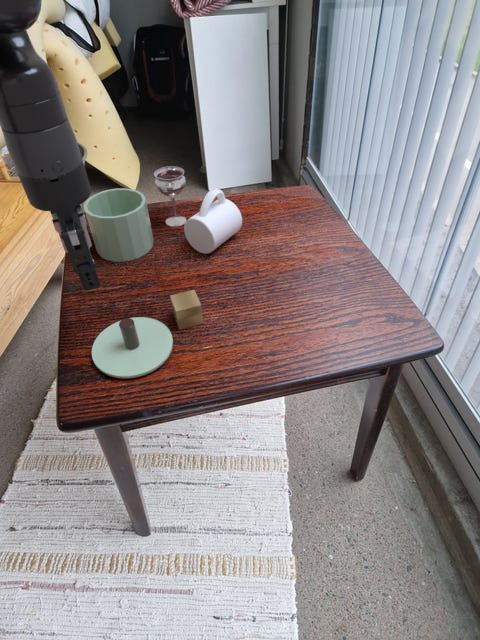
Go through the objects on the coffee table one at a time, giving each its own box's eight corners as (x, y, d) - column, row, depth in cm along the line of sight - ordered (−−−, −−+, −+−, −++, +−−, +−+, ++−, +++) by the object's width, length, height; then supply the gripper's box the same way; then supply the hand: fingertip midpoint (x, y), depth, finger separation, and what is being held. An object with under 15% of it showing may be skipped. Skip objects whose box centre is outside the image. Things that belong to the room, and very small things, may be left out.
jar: (100, 267, 88) (86, 223, 81) (94, 236, 96) (81, 194, 89) (158, 254, 91) (150, 210, 84) (147, 226, 99) (139, 184, 92)
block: (178, 330, 74) (175, 311, 71) (173, 313, 77) (169, 295, 74) (203, 323, 75) (201, 305, 72) (196, 307, 78) (194, 289, 75)
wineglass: (157, 218, 102) (149, 170, 93) (183, 211, 104) (177, 163, 96) (168, 231, 97) (160, 182, 89) (194, 223, 100) (189, 175, 91)
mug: (185, 247, 93) (179, 197, 84) (214, 226, 99) (210, 177, 90) (215, 259, 89) (211, 208, 81) (243, 236, 95) (242, 187, 87)
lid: (97, 391, 65) (87, 365, 61) (89, 332, 74) (79, 306, 70) (182, 367, 68) (177, 341, 64) (164, 314, 77) (159, 288, 73)
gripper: (12, 145, 53) (55, 251, 65) (18, 194, 44) (67, 308, 55) (73, 135, 55) (104, 239, 67) (90, 179, 46) (123, 292, 57)
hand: (87, 270), depth 61 cm, fingers open, 8 cm apart
